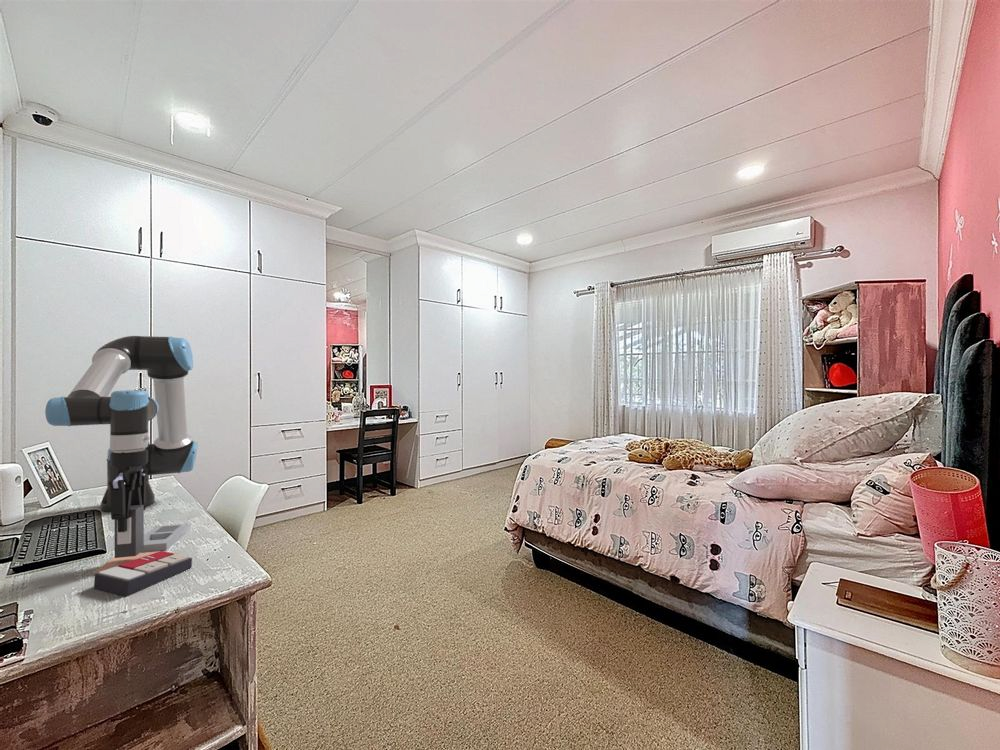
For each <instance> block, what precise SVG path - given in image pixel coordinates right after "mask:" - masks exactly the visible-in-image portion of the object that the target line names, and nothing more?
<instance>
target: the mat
mask: <svg viewBox="0 0 1000 750" xmlns="http://www.w3.org/2000/svg"><path fill="white" fill-rule="evenodd" d="M157 552H160V551H152V552H142V553H139V554H138V555H136V556H131V557H120V558H115V556H114V557H113V558H111V559H110V560H108V561H107V562H105V563H104V564H103V565H101V566H100V567H98V568H97V569H96V570H94V571H93V575H95V574H97V573H98V572H100V571H104V570H107V569H110V568H113V567H118V566H119V565H120V564H123V563H126V562H129V561H132V560H135V559H138V558H141V557H144V556H148V555H151V554H154V553H157Z"/></svg>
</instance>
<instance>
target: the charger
mask: <svg viewBox="0 0 1000 750" xmlns="http://www.w3.org/2000/svg"><path fill="white" fill-rule="evenodd" d="M144 511H145V510H144V505H133V506H130V515H129V517H132V540H131V543H130V544H119V545H117V519H115V520H114V557H115V558H120V557H131V556H136V555H138V554H139V553H140V552H142V551H143V550H144V535H145V533H144V532H145V531H144V528H145V527H144V526H145V522H144V521H145V519H144V518H145V517H144V515H145V513H144ZM142 553H143V552H142Z"/></svg>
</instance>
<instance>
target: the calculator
mask: <svg viewBox="0 0 1000 750" xmlns="http://www.w3.org/2000/svg"><path fill="white" fill-rule="evenodd" d="M156 552H157V551H156ZM192 564H193V558H192V557H190V556H189V555H184V554H179V553H174V552H169V551H166V550H163V551H160V552H157V553H154V554H151V555H148V556H144V557H141V558H138V559H135V560H132V561H129V562H126V563H123V564H120V565H119V566H118V567H113V568H110V569H107V570H104V571H100V572H98V573H97V574H94V581H93V582H94V583H93V590H95V591H99V592H101V593H102V592H103V593H107V594H110V595H114V596H115V595H116V596H118V597H123V598H126V597H129V596H132V595H134V594H136V593H140V591H144V590H145V589H147V588H148V587H151V586H153V585H155V584H158V583H161V582H163V581H166V580H168V578H169V579H170V578H171V579H172V578H173V577H175V575H176V576H178V575H180V574H182V572H183V573H185V572H187V571H189V570H191V569H192V568H191V567H193V566H192ZM190 568H191V569H190ZM188 569H189V570H188ZM186 570H187V571H186ZM184 571H185V572H184ZM177 574H178V575H177Z"/></svg>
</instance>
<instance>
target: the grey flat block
mask: <svg viewBox="0 0 1000 750" xmlns="http://www.w3.org/2000/svg"><path fill="white" fill-rule="evenodd" d="M190 530H191V523H180V524H168V525H166V524H165V525H156V526H155V527H152V529H149V531H147V532H146V533H144V550H143V551H142V552H140V553H146V552H157V551H168V550H169V549H170V548H171V547H172V546H173V545H175V544H176V543H177V542H178V541H179V540H181V538H182V537H184V536H185V535H186V534H187V533H188V532H189V531H190ZM184 534H185V535H184ZM183 535H184V536H183ZM175 542H176V543H175Z"/></svg>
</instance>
